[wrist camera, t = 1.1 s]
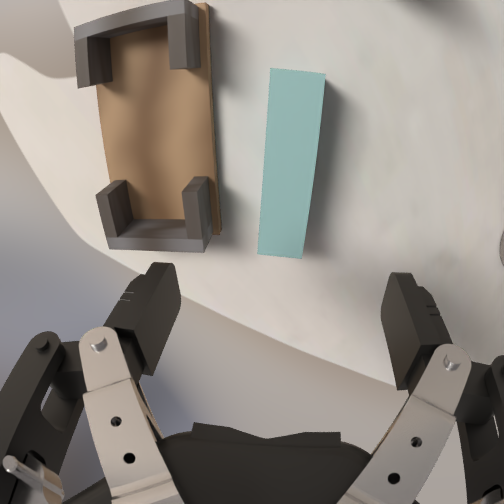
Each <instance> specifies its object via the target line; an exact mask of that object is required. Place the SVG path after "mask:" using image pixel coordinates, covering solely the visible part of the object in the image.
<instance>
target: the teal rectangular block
mask: <svg viewBox="0 0 504 504" xmlns="http://www.w3.org/2000/svg"><path fill="white" fill-rule="evenodd" d="M325 75H326V74H321V73H314V72H306V71H297V70H287V69H275V68H270V83H269V98H268V112H267V127H266V141H265V156H264V170H263V184H262V198H261V212H260V225H259V239H258V252H257V254H260V255H270V256H279V257H289V258H298V259H302V253H303V247H304V241H305V235H306V228H307V222H308V215H309V208H310V201H311V194H312V187H313V180H314V172H315V165H316V157H317V149H318V141H319V132H320V124H321V115H322V105H323V95H324V85H325Z"/></svg>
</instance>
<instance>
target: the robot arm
mask: <svg viewBox="0 0 504 504" xmlns="http://www.w3.org/2000/svg"><path fill="white" fill-rule="evenodd" d="M500 257H501V260H502V263H503V264H504V233H503V236H502V240H501V244H500ZM180 306H181V294H180V289H179V285H178V280H177V275H176V270H175V266H174V264H173V263H161V262H153V263H152V264H151V266H150V268H149V269H148V271H147V272H146V274H145V275H144V274H140V275H139V276H138V277H136V278H135V279H134V280H133V281H131V282H130V284H129V285H128V287H127V289H126V290H125V293H123V295H122V296H121V298H120V301H118V303H117V304H116V306H115V307H114V309H113V311H112V312H111V314H110V315H109V317H108V319H107V320H106V322H105V324H104V325H103V327H97V328H93V329H91V330H89V331H88V332H86V333H85V334H84V335H83V336H82V338H81V340H80V341H72V342H61V341H60V339H59V337H58V335H57V334H55V333H54V332H49V331H47V332H42V333H40V334H38V335H36V336H35V337H34V338H33V339H32V340H31V341H30V342H29V344H28V345H27V347H26V348H25V350H24V352H23V353H22V355H21V356H20V358H19V360H18V361H17V363H16V365H15V367H14V368H13V370H12V372H11V373H10V375H9V377H8V379H7V380H6V382H5V384H4V386H3V388H2V390H1V391H0V504H419V503H418V502H417V501H416V500H415V498H416V497H417V495H418V493H419V492H420V490H421V488H422V487H423V485H424V483H425V482H426V480H427V478H428V476H429V475H430V473H431V471H432V469H433V467H434V465H435V463H436V461H437V460H438V457H439V456H440V453H441V451H442V450H443V448H444V446H445V443H446V441H447V439H448V437H449V435H450V433H451V431H452V428H453V426H454V424H455V421H457V425H458V430H459V436H460V442H461V449H462V456H463V463H464V470H465V479H466V490H467V504H504V355H502V356H498V357H496V358H495V359H494V361H493V362H492V364H491V365H486V364H481V363H476V362H472V361H471V360H470V357H469V355H468V354H467V353H466V351H465V350H463V349H462V348H461V347H459V346H456V345H453V343H452V341H451V338H450V336H449V333H448V331H447V328H446V326H445V324H444V321H443V319H442V317H441V316H440V312H439V310H438V308H436V303H435V301H434V299H433V297H432V295H431V294H430V293H429V292H428V291H427V290H426V289H425V288H424V287H422V286H417V284H416V281H415V279H414V277H413V275H412V274H411V273H397V272H392V273H391V274H390V276H389V280H388V284H387V287H386V291H385V295H384V298H383V302H382V306H381V321H382V325H383V329H384V333H385V337H386V341H387V345H388V350H389V354H390V358H391V363H392V367H393V372H394V377H395V382H396V387H397V390H408V393H409V397H408V399H407V400H406V402H405V404H404V405H403V407H402V408H401V410H400V412H399V413H398V415H397V416H396V418H395V420H394V421H393V423H392V424H391V426H390V427H389V429H388V430H387V432H386V433H385V435H384V436H383V438H382V439H381V441H380V442H379V444H378V445H377V446H376V448H375V449H374V450H373V452H372V453H371V454H369V453H368V452H366V451H365V450H363V449H361V448H359V447H357V446H355V445H352V444H349V443H346V442H342V441H341V438H340V437H341V434H340V432H303V433H298V434H293V435H288V436H282V437H275V438H269V439H265V438H260V437H257V436H254V435H251V434H248V433H245V432H242V431H239V430H236V429H233V428H230V427H224V426H216V425H209V424H202V423H195V422H194V424H193V428H192V431H189V432H183V433H177V434H174V435H171V436H168V437H166V438H164V436H163V435H162V433H161V431H160V429H159V427H158V425H157V423H156V421H155V419H154V416H153V414H152V412H151V409H150V407H149V405H148V402H147V400H146V397H145V395H144V392H143V390H142V387H141V385H140V383H139V380H140V377H141V375H142V374H145V375H150V376H153V374H154V371H155V369H156V366H157V364H158V361H159V359H160V356H161V354H162V351H163V349H164V347H165V344H166V342H167V339H168V337H169V334H170V332H171V329H172V327H173V325H174V322H175V320H176V317H177V315H178V313H179V310H180ZM49 386H51V388H52V390H51V392H50V394H49V396H48V398H47V401H46V403H45V405H44V407H43V409H42V411H41V403H42V400H43V398H44V396H45V394H46V392H47V390H48V388H49ZM84 405H85V409H86V413H87V417H88V421H89V425H90V429H91V432H92V436H93V439H94V443H95V446H96V450H97V453H98V456H99V459H100V463H101V466H102V469H103V472H104V474H105V477H104V478H103V479H101V480H99V481H98V482H96V483H95V484H93V485H92V486H90V487H88V488H87V489H85V490H83V491H82V492H80V493H78V494H77V495H75V496H73V497H71V498H70V499H68V500H66V501H65V502H63V503H62V500H63V498H64V491H63V490H62V483H61V480H60V478H59V477H58V475H59V472H60V469H61V466H62V463H63V460H64V458H65V455H66V452H67V449H68V446H69V444H70V441H71V438H72V436H73V433H74V430H75V428H76V425H77V423H78V420H79V417H80V415H81V413H82V410H83V408H84ZM494 415H495V419H496V423H497V427H498V431H499V438H498V434H497V430H496V425H495V421H494V417H493V416H494Z"/></svg>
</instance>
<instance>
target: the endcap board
mask: <svg viewBox="0 0 504 504" xmlns="http://www.w3.org/2000/svg"><path fill="white" fill-rule="evenodd" d="M74 42H75V61H76V74H77V85H78V88H83V87H88V86H93V85H96V89H97V99H98V107H99V115H100V123H101V130H102V137H103V143H104V150H105V156H106V161H107V167H108V172H109V178H110V183H111V184H109V185H108V186H107V187H105V188H104V189H103V190H102V191H100V192H99V193H98V194H96V199H97V204H98V208H99V212H100V216H101V220H102V224H103V228H104V232H105V235H106V239H107V243H108V246H109V249H118V250H144V251H170V252H197V253H204V252H205V249H206V247H207V245H208V242H209V240H210V238H211V236H212V235H220V232H221V230H222V227H221V215H220V202H219V189H218V176H217V161H216V147H215V131H214V114H213V97H212V77H211V56H210V31H209V5H208V4H207V3H206V2H205V3H198V4H193V3H192V2H190V1H189V0H169V1H164V2H159V3H154V4H150V5H145V6H141V7H137V8H133V9H129V10H126V11H122V12H119V13H115V14H112V15H109V16H105V17H102V18H99V19H96V20H93V21H90V22H87V23H85V24H82V25H79V26H76V27H74Z"/></svg>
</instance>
